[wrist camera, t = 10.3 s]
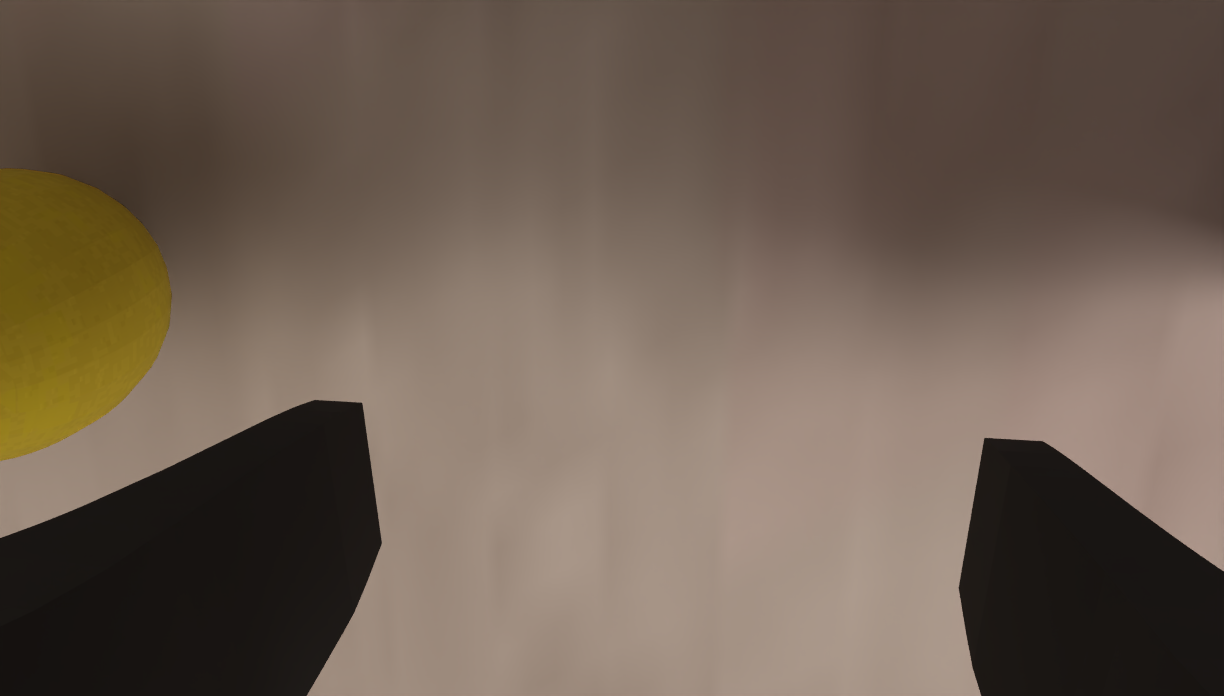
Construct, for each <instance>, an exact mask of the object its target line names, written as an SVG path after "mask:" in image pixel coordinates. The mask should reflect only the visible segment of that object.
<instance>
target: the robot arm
mask: <svg viewBox="0 0 1224 696" xmlns="http://www.w3.org/2000/svg"><path fill="white" fill-rule="evenodd" d="M381 544H382V541H381V534H380V527H379V520H378V512H377V505H376V498H375V491H374V484H373V477H372V469H371V462H370V455H369V448H368V441H367V434H366V426H365V419H364V412H363V405H362V403H357V402H339V401H321V400H314V401H311V402H308V403H305V404H302V405H299V406H297V407H294V408H292V409H289V410H287V411H285V412H282V413H280V414H278V415H276V416H274V417H271V418H269V419H267V420H265V421H263V422H261V423H259V424H257V425H254V426H252V427H250V428H248V429H246V430H244V431H242V432H240V433H238V434H236V435H234V436H232V437H230V438H228V439H226V440H224V441H222V442H220V443H218V444H216V445H214V446H211V447H209V448H207V449H205V450H203V451H201V452H199V453H197V454H195V455H193V456H191V457H189V458H187V459H185V460H183V461H181V462H179V463H177V464H175V465H173V466H171V467H168V468H166V469H164V470H162V471H160V472H158V473H155V474H153V475H151V476H149V477H147V478H144V479H142V480H140V481H138V482H135V483H133V484H131V485H129V486H127V487H124V488H122V489H120V490H118V491H115V492H113V493H111V494H109V495H107V496H104V497H102V498H100V499H98V500H96V501H93V502H91V503H89V504H87V505H84V506H82V507H80V508H77V509H75V510H72V511H70V512H68V513H65V514H63V515H60V516H58V517H55V518H53V519H50V520H48V521H45V522H43V523H40V524H37V525H35V526H32V527H30V528H27V529H24V530H21V531H19V532H16V533H13V534H10V535H8V536H5V537H2V538H0V696H307V694H308V692H309V691H310V689H311V687H312V685H313V684H314V682H315V680H316V679H317V677H318V675H319V674H320V672H321V670H322V668H323V667H324V665H325V663H326V661H327V660H328V658H329V656H330V655H331V653H332V651H333V649H334V648H335V646H336V644H337V642H338V641H339V639H340V637H341V635H342V634H343V632H344V630H345V628H346V626H347V625H348V623H349V621H350V619H351V617H352V616H353V614H354V612H355V609H356V607H357V605H358V602H359V600H360V597H361V595H362V593H363V590H364V588H365V586H366V583H367V581H368V578H369V576H370V573H371V570H372V568H373V565H374V562H375V560H376V557H377V555H378V552H379V549H380V547H381ZM959 592H960V598H961V604H962V610H963V617H964V623H965V629H966V635H967V640H968V645H969V650H970V656H971V661H972V666H973V670H974V673H975V677H976V680H977V683H978V687H979V690H980V693H981V696H1224V571H1222V570H1221V569H1219V568H1218V567H1216V566H1215V565H1213V564H1212V563H1210V562H1209V561H1207V560H1206V559H1205V558H1203V557H1202V556H1200V555H1199V554H1197V553H1196V552H1194V551H1193V550H1192V549H1190V548H1189V547H1187V546H1186V545H1184V544H1183V543H1182V542H1180V541H1179V540H1177V539H1176V538H1175V537H1173V536H1172V535H1170V534H1169V533H1168V532H1166V531H1165V530H1164V529H1162V528H1161V527H1160V526H1158V525H1157V524H1155V523H1154V522H1153V521H1151V520H1150V519H1149V518H1147V517H1146V516H1145V515H1143V514H1142V513H1141V512H1139V511H1138V510H1137V509H1135V508H1134V507H1133V506H1131V505H1130V504H1129V503H1127V502H1126V501H1125V500H1123V499H1122V498H1121V497H1119V496H1118V495H1117V494H1115V493H1114V492H1113V491H1111V490H1110V489H1109V488H1107V487H1106V486H1105V485H1103V484H1102V483H1101V482H1099V481H1098V480H1097V479H1095V478H1094V477H1093V476H1092V475H1090V474H1089V473H1088V472H1086V471H1085V470H1084V469H1082V468H1081V467H1079V466H1078V465H1077V464H1075V463H1074V462H1073V461H1071V460H1070V459H1069V458H1067V457H1066V456H1064V455H1063V454H1062V453H1060V452H1059V451H1057V450H1056V449H1054V448H1053V447H1051V446H1050V445H1048V444H1046V443H1045V442H1043V441H1028V440H1011V439H993V438H984V444H983V450H982V455H981V461H980V467H979V473H978V479H977V485H976V490H975V496H974V502H973V508H972V514H971V520H970V526H969V531H968V537H967V543H966V549H965V555H964V561H963V566H962V572H961V578H960V584H959Z"/></svg>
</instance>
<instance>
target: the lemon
mask: <svg viewBox="0 0 1224 696" xmlns="http://www.w3.org/2000/svg"><path fill="white" fill-rule="evenodd" d="M171 298H172V293H171V288H170V282H169V277H168V271H167V267H166V265H165V262H164V260H163V258H162V255H161V253H160V250H159V248H158V246H157V244H156V243H155V241H154V240H153V238H152V237H151V235H150V234H149V232H148V231H147V230H146V228H145V227H144V225H143V224H142V223H141V222H140V221H139V220H138V219H137V218H136V217H135V216H134V215H133V214H132V213H131V212H130V211H129V210H128V209H126V208H125V207H124V206H123V205H122V204H120V203H119V202H117V201H116V200H114V199H113V198H111V197H110V196H108V195H107V194H105V193H104V192H102V191H101V190H99V189H98V188H95V187H92V186H90V185H87V184H85V183H82V182H80V181H77V180H74V179H72V178H69V177H67V176H64V175H61V174H55V173H50V172H42V171H35V170H27V169H13V168H5V169H0V461H2V460H7V459H11V458H16V457H19V456H23V455H26V454H29V453H32V452H35V451H38V450H40V449H43V448H46V447H48V446H50V445H52V444H55V443H57V442H59V441H61V440H63V439H65V438H67V437H69V436H70V435H72V434H74V433H76V432H78V431H79V430H81V429H83V428H84V427H86V426H88V425H90V424H91V423H93V422H95V421H96V420H98V419H99V418H101V417H102V416H104V415H105V414H107V413H108V412H110V411H111V410H112V409H113V408H114V407H116V406H117V405H118V404H119V403H120V402H121V401H122V400H123V399H124V398H125V397H126V396H127V395H128V394H129V393H130V392H131V391H132V389H133V388H134V387H135V386H136V385H137V384H138V382H139V381H140V380H141V379H142V378H143V377H144V375H145V374H146V373H147V372H148V370H149V369H150V368H151V366H152V365H153V363H154V361H155V360H156V358H157V356H158V354H159V351H160V349H161V346H162V344H163V341H164V339H165V336H166V333H167V331H168V328H169V323H170V311H171Z"/></svg>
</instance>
